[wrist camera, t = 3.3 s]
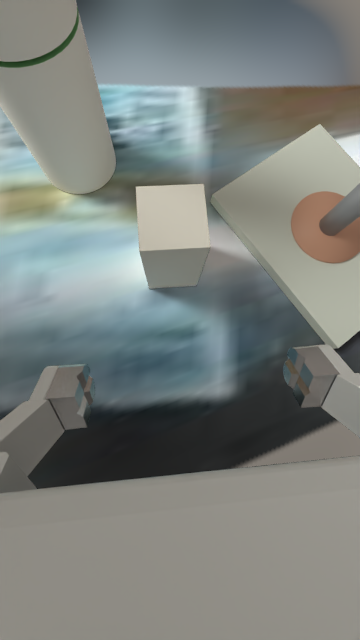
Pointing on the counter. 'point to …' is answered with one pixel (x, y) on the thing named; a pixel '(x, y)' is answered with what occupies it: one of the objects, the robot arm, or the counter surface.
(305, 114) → the counter surface
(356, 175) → the base plate
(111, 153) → the cylindrical container
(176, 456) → the counter surface
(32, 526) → the robot arm
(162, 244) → the square block
